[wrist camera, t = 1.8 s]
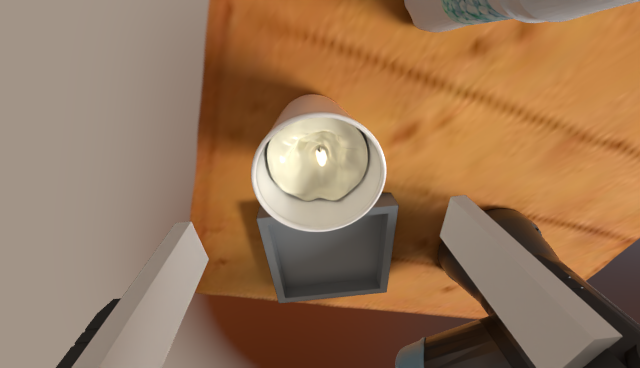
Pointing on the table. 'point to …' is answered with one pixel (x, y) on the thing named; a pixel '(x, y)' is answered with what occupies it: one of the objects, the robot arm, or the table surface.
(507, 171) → the table surface
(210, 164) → the table surface
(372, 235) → the tray
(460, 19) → the bottle
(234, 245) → the table surface
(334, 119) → the candle holder
